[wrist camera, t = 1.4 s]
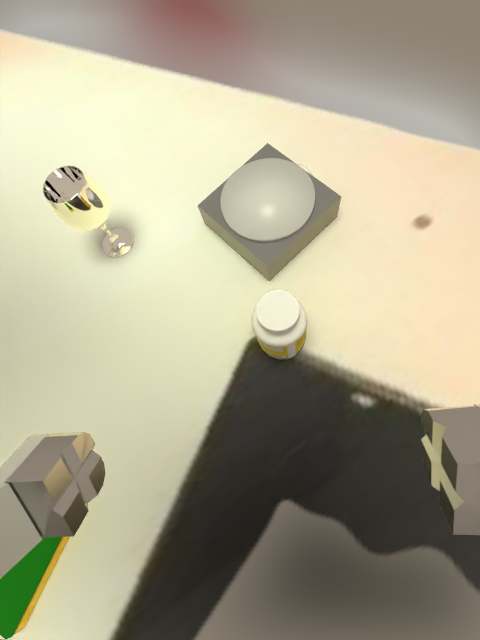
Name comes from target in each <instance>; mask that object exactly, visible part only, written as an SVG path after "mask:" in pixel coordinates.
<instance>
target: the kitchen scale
mask: <svg viewBox="0 0 480 640" xmlns="http://www.w3.org/2000/svg"><path fill="white" fill-rule="evenodd" d="M340 200H341V196H340V195H338V194H337V193H336V192H334V191H333V190H331V189H330V188H329V187H327V186H326V185H324V184H323V183H322V182H320V181H319V180H318V179H316V178H315V177H313V175H312V173H311V172H310V171H309V170H308V169H307V168H306V167H305V166H303V165H301V164H295V163H294V162H293V161H291V160H290V159H289V158H287V157H286V156H284V155H283V154H282V153H280V152H279V151H278V150H276V149H275V148H273V147H272V146H271V145H269V144H268V143H267V144H266V145H265V146H264V147H263V148H262V149H261V150H260V151H258V152H257V153H256V154H255V155H254V156H253V157H252V158H251V159H249V160H248V161H247V162H246V163H245V164H244V165H243V166H242V167H240V168H239V169H238V170H236V171H235V172H234V173H233V174H232V175H231V176H230V177H229V178H228V179H227V180H226V181H225V182H224V183H223V184H221V185H220V186H219V187H218V188H217V189H216V190H215V191H214V192H212V193H211V194H210V195H209V196H208V197H207V198H206V199H205V200H204V201H202V202H201V203H200V204H199V205H198V208H199V210H200V212H201V215H202V217H203V220H204V222H205V224H206V225H207V226H208V227H209V228H211V229H212V230H213V231H214V232H215V233H216V234H217V235H218V236H219V237H221V238H222V239H223V240H224V241H225V242H226V243H227V244H228V245H230V246H231V247H232V248H233V249H234V250H235V251H236V252H237V253H239V254H240V255H241V256H242V257H243V258H244V259H245V260H246V261H247V262H249V263H250V264H251V265H252V266H253V267H254V268H255V269H256V270H258V271H259V272H260V273H261V274H262V275H263V276H264V277H265V278H267V279H268V280H269V281H270V280H271V279H272V278H273V277H274V276H275V275H276V274H277V273H278V272H279V271H280V270H281V269H282V268H283V267H284V266H286V265H287V264H288V263H289V262H290V261H291V260H292V259H293V258H294V257H295V256H296V255H297V254H298V253H299V252H300V251H301V250H302V249H303V248H304V247H305V246H307V245H308V244H309V243H310V242H311V241H312V240H313V239H314V238H315V237H316V236H317V235H318V234H319V233H320V232H321V231H322V230H323V229H324V228H325V227H327V226H328V225H329V224H330V223H331V222H332V221H333V220H334V219H335V218H336V217H337V214H338V210H339V205H340Z"/></svg>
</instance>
